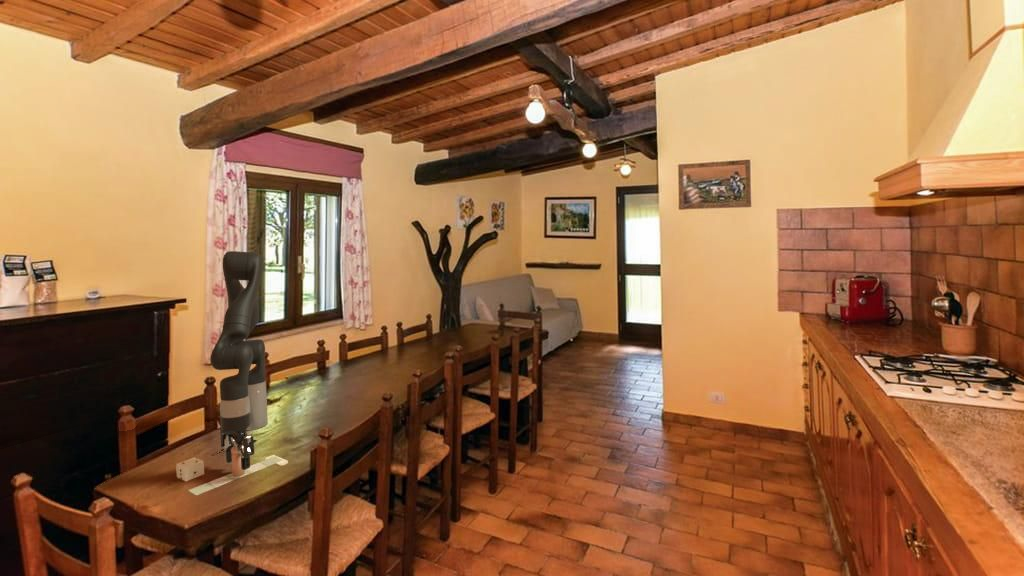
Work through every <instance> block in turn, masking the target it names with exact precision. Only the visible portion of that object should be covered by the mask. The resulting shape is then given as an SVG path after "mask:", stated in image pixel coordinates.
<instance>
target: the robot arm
mask: <svg viewBox="0 0 1024 576" xmlns="http://www.w3.org/2000/svg"><path fill="white" fill-rule="evenodd" d="M263 271H264V260H263V257H262V255H261V254H260V253H258V252H250V251H249V252H248V251H234V250H233V251H232V250H231V251H227V252H225V254H224V255H223V257H222V273H223V278H224V282H225V283H224V284H225V289H226V293H227V309H226V310H225V313H224V317H223V325H222V330H221V332H220V335H219V338H218V340H217V342H216V344H215V345H214V347H213V349H212V351H211V354H210V364H211V367H212V368H213V369H214V370H217V371H226V370H227V371H228V370H229V371H230V370H238V372H237V374H234V375H230V376H226V377H224V378H223V379H221V380H220V381H219V390H220V391H219V394H220V396H219V397H220V398H219V399H220V401H219V402H220V403H219V413H220V414H219V415H220V416H219V417H220V447H221V448H224V450H225V451H224V452H225V461H226V463H228V464H229V463H232V453H231V449H232V447H233V446H234V447H235V448H236V451H237V452H239V453H240V456H241V469H242V470H246V469H248V468H250V466H251V456H253V455H255V443H254V440H255V439H254V435H253V433H252V434H248V433H247V431H253V430H258V429H261V428H263V427H266V426H267V425H268V424H269V421H268V401H267V399H268V398H267V377H266V345H265V342H264V340H262V339H249V340H247V339H248V337H249V335H250V333H251V332H252V331H253V330H254V329H255V327H256V326H257V324H258V323H259V321H260V305H259V303H258V301H257V295H258V292H259V288H260V285H261V281H262V277H263ZM241 281H247V282H248V283H247V284H246V286H245V287H244V286H243V284H241ZM252 365H255V366H254V367H253V368H251V367H252ZM240 446H242V447H240ZM242 450H243V451H244V453H243V451H242ZM246 471H247V470H246Z"/></svg>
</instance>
